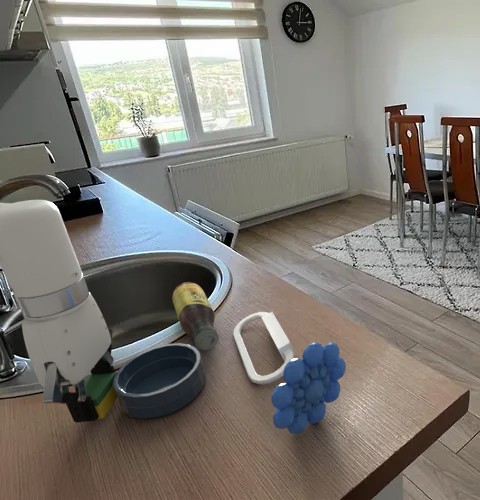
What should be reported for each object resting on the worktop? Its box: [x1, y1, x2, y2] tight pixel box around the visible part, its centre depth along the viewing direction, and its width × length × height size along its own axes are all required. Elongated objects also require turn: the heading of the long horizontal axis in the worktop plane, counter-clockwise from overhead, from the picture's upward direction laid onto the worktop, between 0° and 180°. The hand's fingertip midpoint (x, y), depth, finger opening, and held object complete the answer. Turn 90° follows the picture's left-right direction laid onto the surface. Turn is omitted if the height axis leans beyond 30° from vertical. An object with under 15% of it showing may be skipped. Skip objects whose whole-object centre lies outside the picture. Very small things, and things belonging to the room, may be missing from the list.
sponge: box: [74, 372, 118, 420], centre depth 60 cm, size 4×6×4 cm
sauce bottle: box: [171, 281, 219, 352], centre depth 79 cm, size 6×6×20 cm
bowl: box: [113, 342, 207, 419], centre depth 63 cm, size 12×12×4 cm
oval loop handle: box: [232, 311, 297, 385], centre depth 71 cm, size 20×8×4 cm, turn 25°
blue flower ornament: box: [270, 342, 347, 435], centre depth 55 cm, size 12×7×12 cm, turn 130°
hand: (98, 402), depth 61 cm, fingers closed on sponge, 5 cm apart
